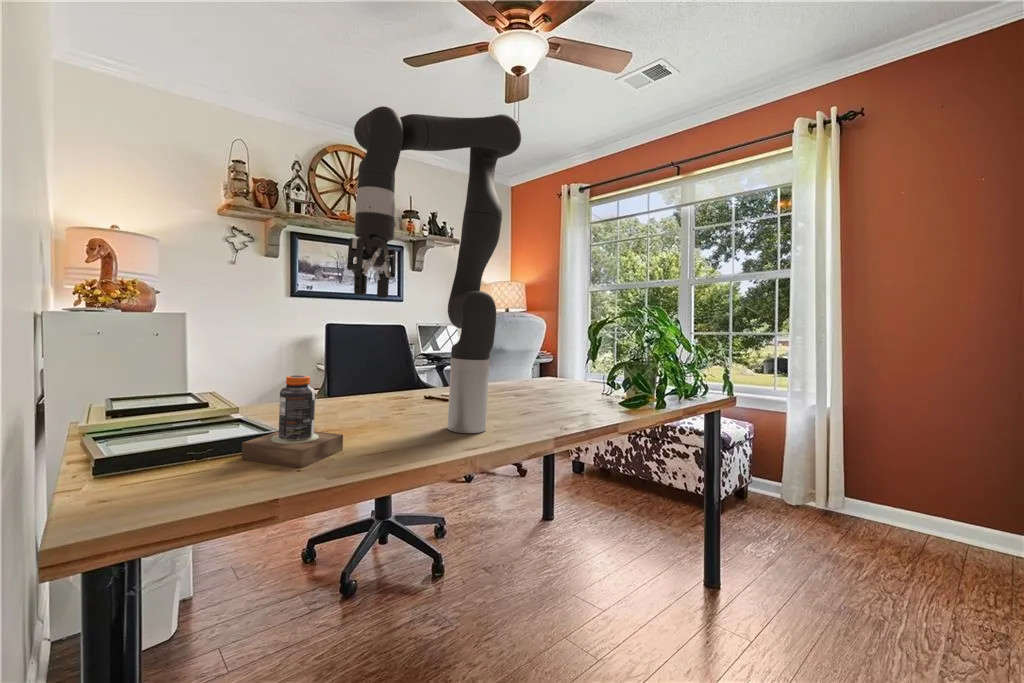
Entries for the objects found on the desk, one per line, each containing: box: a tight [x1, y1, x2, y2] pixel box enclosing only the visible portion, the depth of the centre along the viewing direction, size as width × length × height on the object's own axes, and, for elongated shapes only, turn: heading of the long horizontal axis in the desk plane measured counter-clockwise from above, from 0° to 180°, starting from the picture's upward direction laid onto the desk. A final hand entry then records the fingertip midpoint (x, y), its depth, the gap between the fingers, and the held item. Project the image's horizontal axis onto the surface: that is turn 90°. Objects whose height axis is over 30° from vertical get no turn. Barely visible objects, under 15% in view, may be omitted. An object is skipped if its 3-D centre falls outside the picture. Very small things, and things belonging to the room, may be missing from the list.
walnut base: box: [241, 430, 344, 469], centre depth 87 cm, size 12×12×3 cm
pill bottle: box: [278, 375, 316, 440], centre depth 87 cm, size 6×6×11 cm
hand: (371, 296), depth 94 cm, fingers open, 8 cm apart
